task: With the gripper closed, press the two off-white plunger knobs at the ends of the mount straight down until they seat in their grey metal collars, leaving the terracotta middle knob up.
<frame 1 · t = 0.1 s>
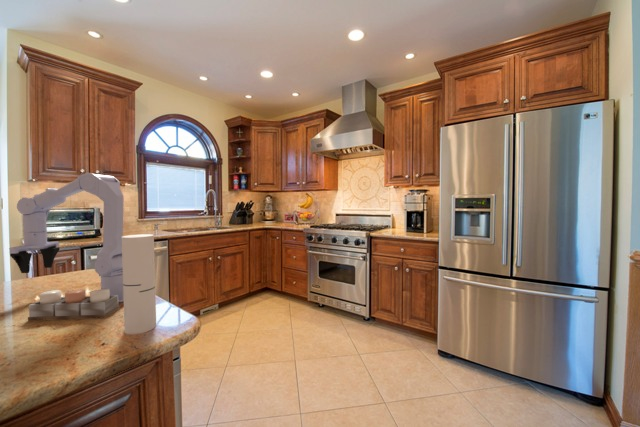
hand: (37, 270, 97), 10 cm above the counter, fingers open, 7 cm apart
knob 2: (100, 297, 83), point 5 cm above the counter, slide at 0.0 cm
mount: (76, 314, 82), on the counter
cylindrical container: (140, 328, 73), on the counter
middle knob: (75, 298, 82), point 5 cm above the counter, slide at 0.0 cm
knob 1: (50, 299, 82), point 5 cm above the counter, slide at 0.0 cm
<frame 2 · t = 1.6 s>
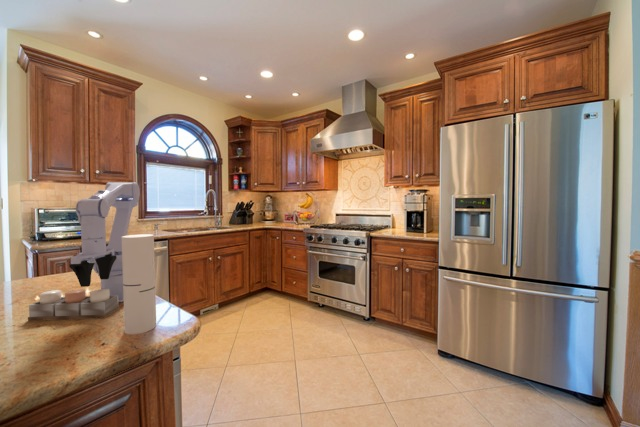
hand: (95, 282, 83), 9 cm above the counter, fingers open, 7 cm apart
nothing on the counter moved.
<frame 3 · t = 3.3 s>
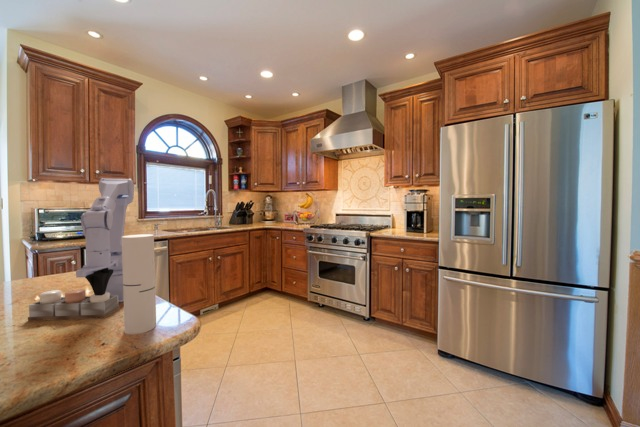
hand: (99, 294, 83), 6 cm above the counter, fingers closed, pressing on knob 2
knob 2: (100, 301, 83), point 4 cm above the counter, slide at 1.0 cm, touching gripper
everything else where it was.
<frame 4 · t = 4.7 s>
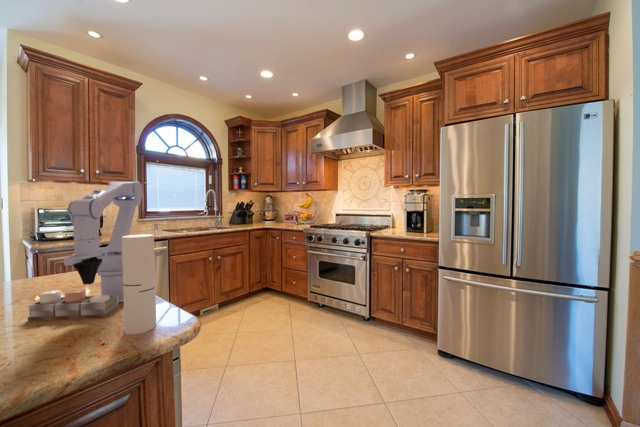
hand: (88, 283, 82), 9 cm above the counter, fingers closed
knob 2: (100, 303, 83), point 3 cm above the counter, slide at 1.9 cm
everything else where it was.
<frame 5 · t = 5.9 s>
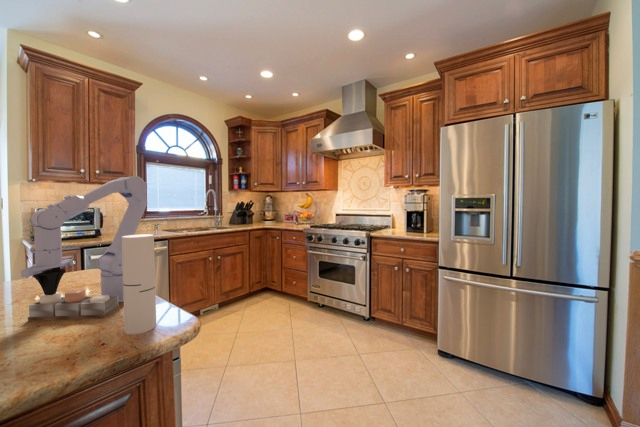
hand: (50, 294, 82), 6 cm above the counter, fingers closed, pressing on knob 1
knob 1: (50, 300, 82), point 4 cm above the counter, slide at 0.5 cm, touching gripper
everything else where it was.
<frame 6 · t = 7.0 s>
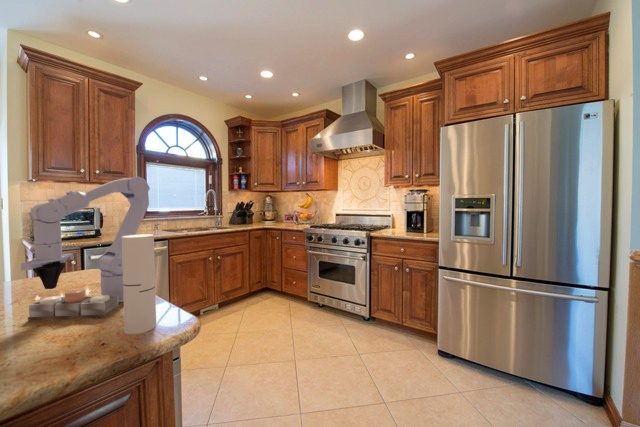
hand: (50, 288, 82), 8 cm above the counter, fingers closed
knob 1: (51, 305, 82), point 3 cm above the counter, slide at 1.9 cm
everything else where it was.
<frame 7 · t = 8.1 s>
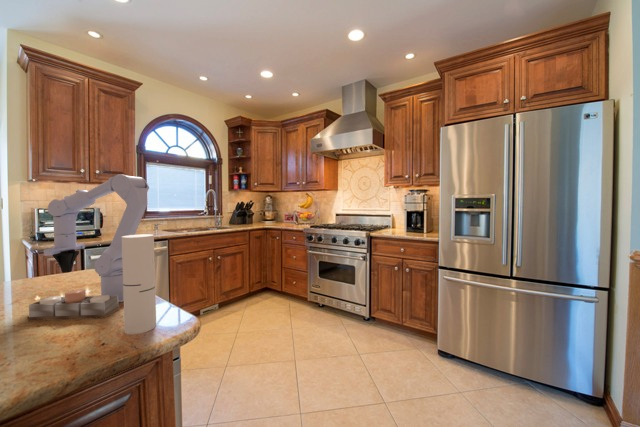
hand: (66, 272, 96), 9 cm above the counter, fingers closed
nothing on the counter moved.
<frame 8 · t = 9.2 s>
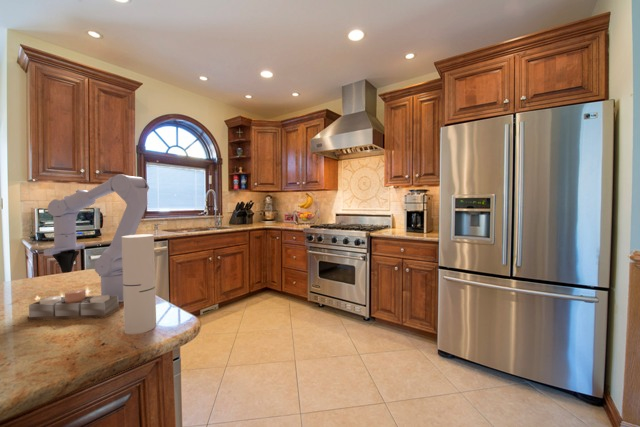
hand: (66, 272, 96), 9 cm above the counter, fingers closed
nothing on the counter moved.
at the end: knob 2 slide at 1.9 cm; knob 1 slide at 1.9 cm; middle knob slide at 0.0 cm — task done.
